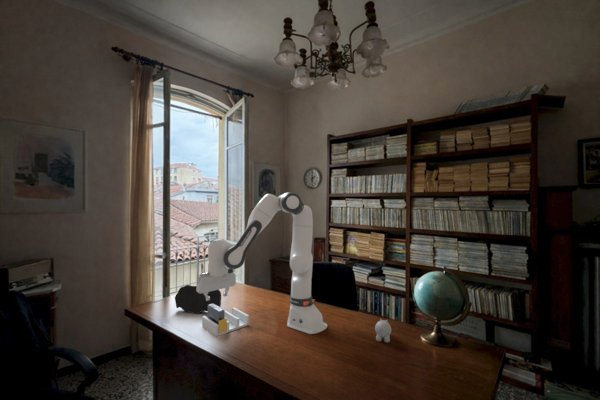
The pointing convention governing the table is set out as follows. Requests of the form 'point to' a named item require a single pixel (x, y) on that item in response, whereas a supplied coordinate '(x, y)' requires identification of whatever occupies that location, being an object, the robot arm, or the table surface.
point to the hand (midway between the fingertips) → (216, 298)
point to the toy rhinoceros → (383, 330)
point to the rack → (226, 322)
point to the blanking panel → (215, 313)
